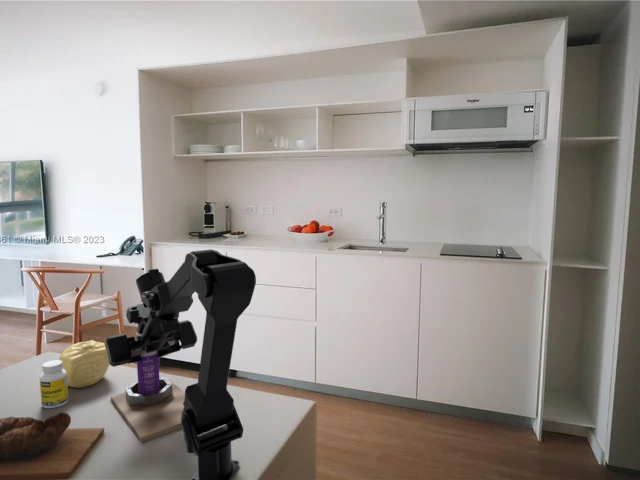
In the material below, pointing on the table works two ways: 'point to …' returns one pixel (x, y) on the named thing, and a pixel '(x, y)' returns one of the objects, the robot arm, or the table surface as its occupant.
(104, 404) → the table surface
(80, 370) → the sculpture
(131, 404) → the iron collar
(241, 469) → the table surface
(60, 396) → the supplement bottle
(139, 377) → the container
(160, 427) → the wooden board
